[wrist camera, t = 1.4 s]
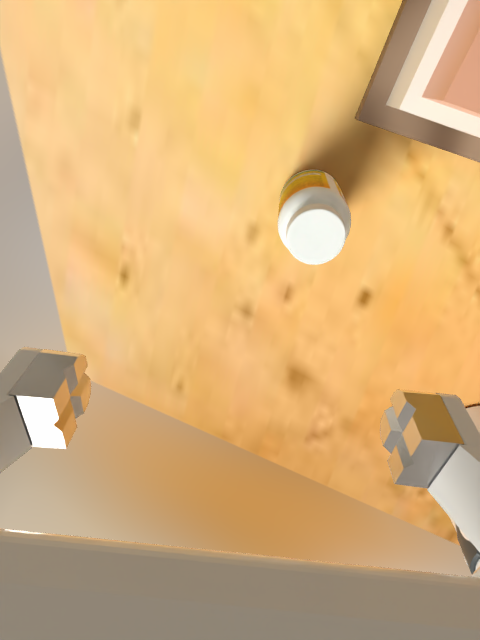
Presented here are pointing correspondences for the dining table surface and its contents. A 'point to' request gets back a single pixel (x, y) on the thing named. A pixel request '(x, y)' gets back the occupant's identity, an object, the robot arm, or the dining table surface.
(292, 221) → the supplement bottle
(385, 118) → the baseplate
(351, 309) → the dining table surface
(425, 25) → the pink white stepped block
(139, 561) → the robot arm
